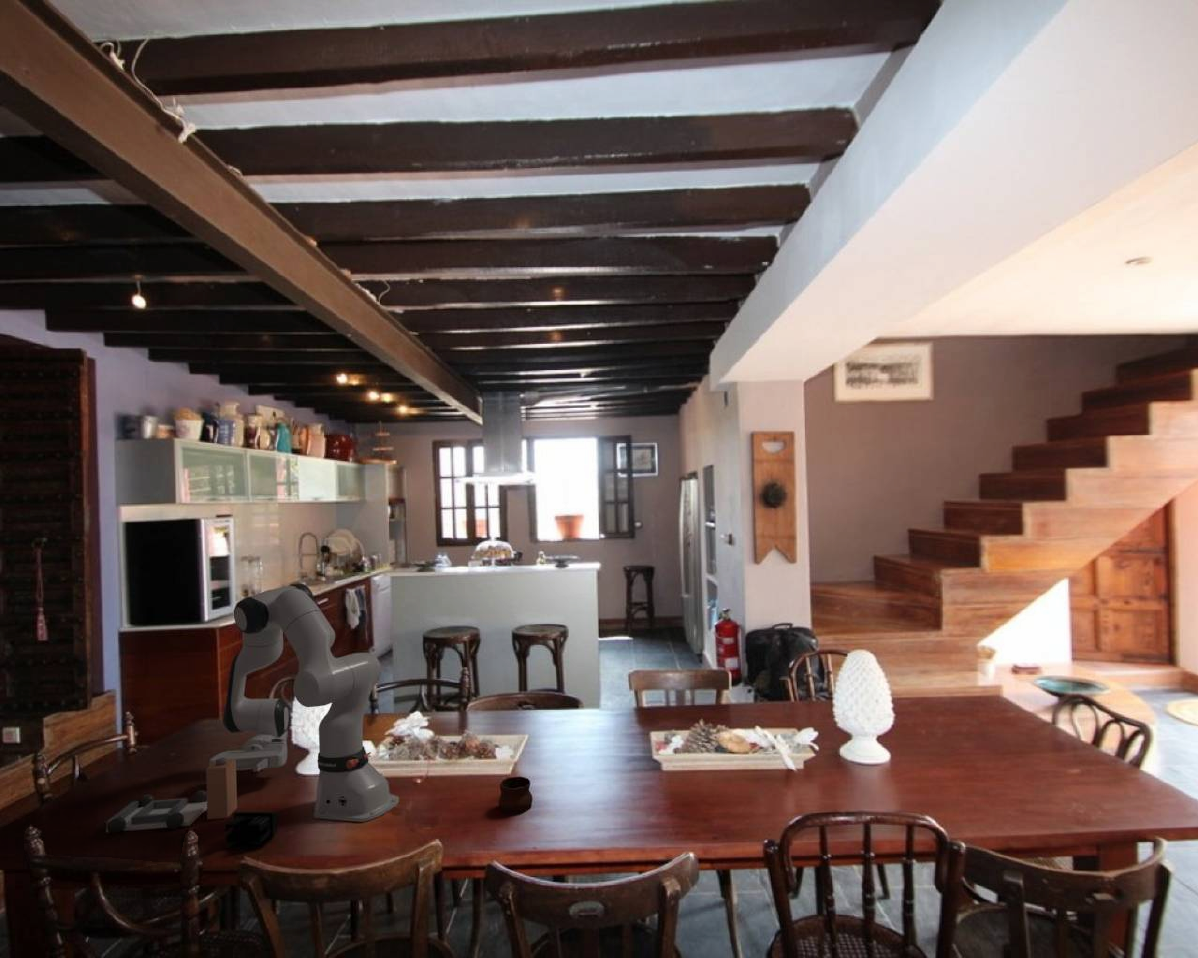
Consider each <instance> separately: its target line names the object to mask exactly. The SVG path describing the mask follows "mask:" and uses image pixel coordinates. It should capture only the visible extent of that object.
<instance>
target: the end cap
mask: <svg viewBox="0 0 1198 958" xmlns="http://www.w3.org/2000/svg"><path fill="white" fill-rule="evenodd" d="M232 813H233V812H232ZM232 815H233V817H232V819H231V820H229V821H227V823H225V824H224V832H227V831H229V830H230V829H231V831H230V832H229V833H228V834H226V835H225V837H224V842H225V844H226V850H263V848H265V847H266V846H267V845H268V844H270V842H272V841H273V838H275V836H276V835H277V833H278V830H279V827H280V826H279V824H280V817H279V814H278V813H277V812H276V811H234V813H233V814H232Z"/></svg>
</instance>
